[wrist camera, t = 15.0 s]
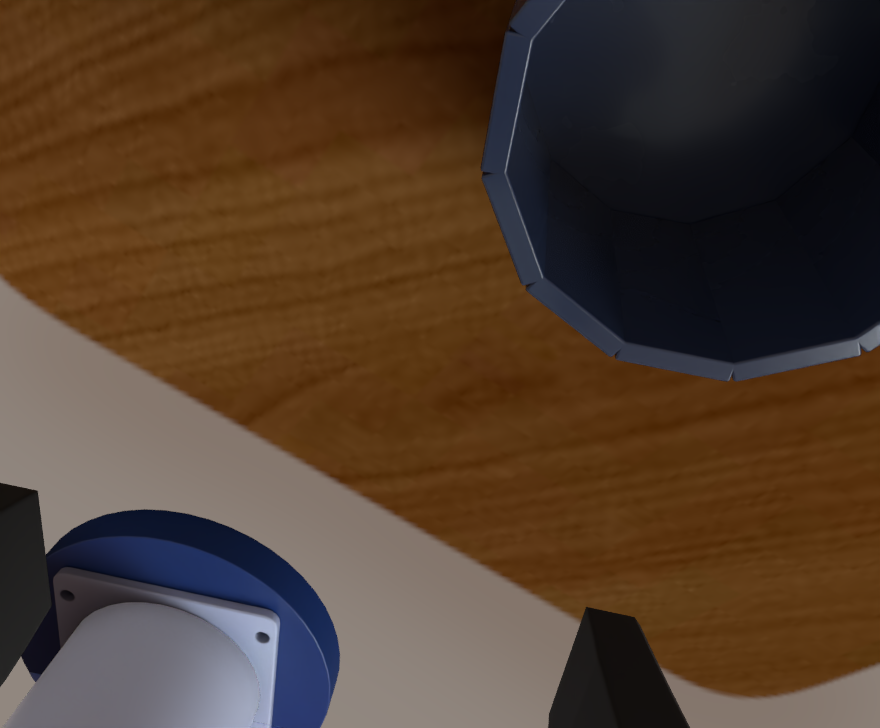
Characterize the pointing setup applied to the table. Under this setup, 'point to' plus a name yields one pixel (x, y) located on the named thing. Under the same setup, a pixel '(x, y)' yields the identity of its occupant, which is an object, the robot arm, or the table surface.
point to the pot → (694, 177)
